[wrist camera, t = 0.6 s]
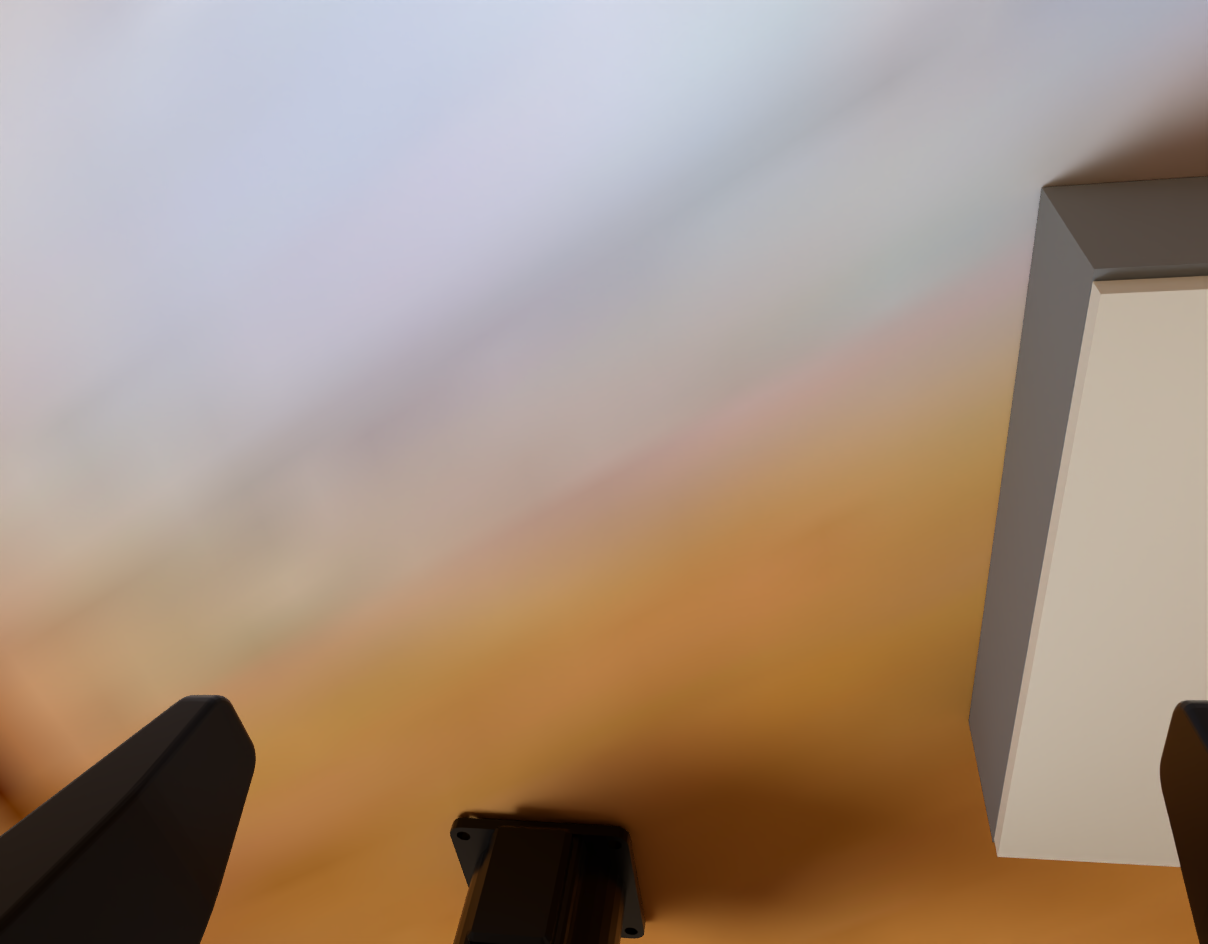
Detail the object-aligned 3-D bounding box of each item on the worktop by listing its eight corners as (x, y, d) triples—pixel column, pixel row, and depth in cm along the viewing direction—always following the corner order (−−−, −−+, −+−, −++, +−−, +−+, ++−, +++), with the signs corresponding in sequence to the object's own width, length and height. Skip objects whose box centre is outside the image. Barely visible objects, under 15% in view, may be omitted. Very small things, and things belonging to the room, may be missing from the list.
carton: (1271, 731, 27) (1337, 861, 24) (968, 721, 28) (992, 842, 25) (1503, 156, 18) (1664, 239, 15) (1041, 187, 19) (1094, 269, 16)
